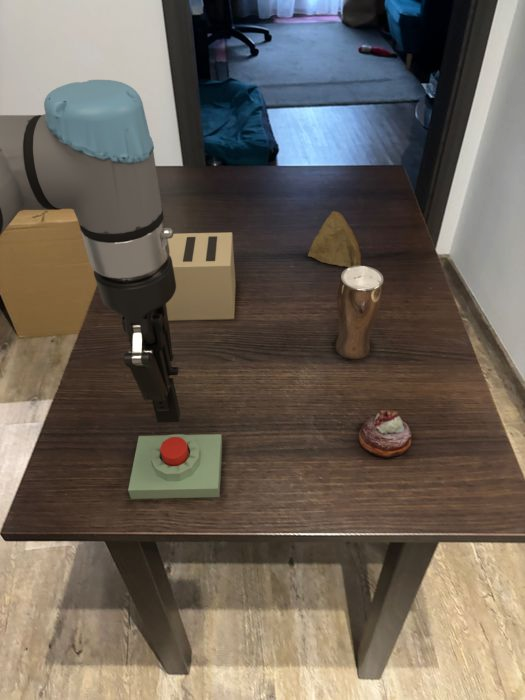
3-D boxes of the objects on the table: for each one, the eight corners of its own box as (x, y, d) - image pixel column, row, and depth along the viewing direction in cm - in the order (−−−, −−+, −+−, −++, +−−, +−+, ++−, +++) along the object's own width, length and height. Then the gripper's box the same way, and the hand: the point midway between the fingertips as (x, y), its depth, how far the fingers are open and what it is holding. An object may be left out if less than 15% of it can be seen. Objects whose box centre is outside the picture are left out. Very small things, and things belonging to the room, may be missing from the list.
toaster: (148, 321, 99) (137, 267, 90) (156, 286, 107) (146, 233, 98) (234, 319, 98) (230, 265, 90) (235, 284, 107) (232, 231, 98)
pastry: (393, 413, 81) (399, 391, 78) (422, 450, 76) (429, 428, 73) (348, 429, 79) (351, 407, 76) (374, 468, 74) (379, 447, 71)
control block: (131, 499, 71) (125, 482, 69) (141, 445, 78) (136, 428, 75) (219, 497, 71) (217, 480, 68) (222, 443, 78) (220, 426, 75)
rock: (376, 255, 109) (351, 228, 114) (361, 235, 102) (335, 206, 108) (336, 290, 111) (313, 261, 117) (318, 272, 104) (295, 242, 110)
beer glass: (329, 358, 90) (336, 287, 80) (335, 331, 95) (342, 262, 85) (370, 364, 89) (383, 293, 79) (374, 337, 94) (386, 267, 84)
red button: (160, 466, 71) (158, 458, 70) (163, 444, 73) (161, 436, 72) (187, 465, 71) (185, 458, 70) (189, 444, 73) (188, 436, 72)
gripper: (162, 301, 46) (194, 460, 62) (177, 224, 55) (202, 379, 71) (76, 304, 46) (130, 461, 62) (106, 227, 55) (146, 381, 71)
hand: (168, 417), depth 67 cm, fingers closed
